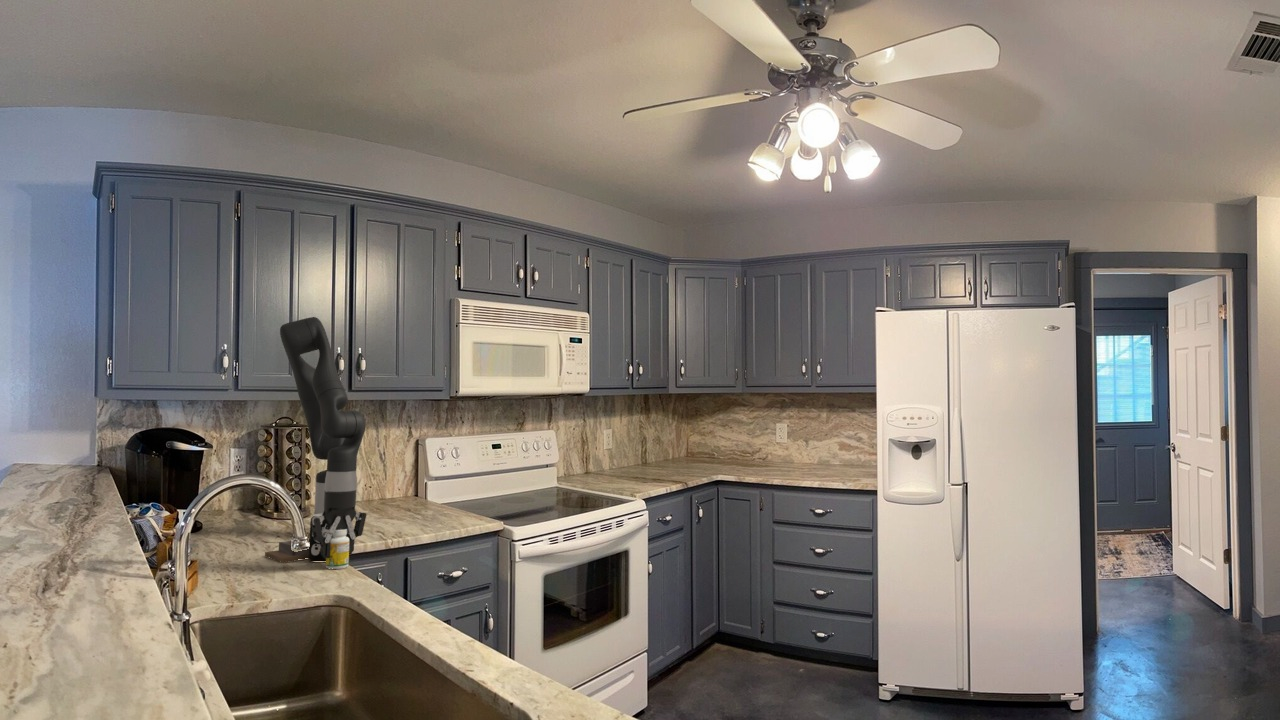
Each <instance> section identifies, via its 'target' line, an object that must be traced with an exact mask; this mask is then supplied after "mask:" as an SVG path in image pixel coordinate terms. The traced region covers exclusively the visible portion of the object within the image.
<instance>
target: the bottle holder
mask: <svg viewBox="0 0 1280 720" xmlns="http://www.w3.org/2000/svg"><path fill="white" fill-rule="evenodd" d="M308 538H309V540H310V537H308ZM265 556H267V557H270V558H272V559H271V560H273V559H275V560H274V561H276V560H278V561H277V562H279V561H281V562H280V563H282V562H286V563H289V562H288V561H293V562H295V561H294V560H298V559H305V558H309V549H307V550H302V551H298V552H294V551H292V550H291V540H286V541H279V542H278V550H272V551H265V552H264V557H265ZM267 557H266V558H267ZM270 558H269V559H270Z"/></svg>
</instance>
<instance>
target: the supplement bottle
mask: <svg viewBox="0 0 1280 720" xmlns="http://www.w3.org/2000/svg"><path fill="white" fill-rule="evenodd" d="M346 535H347V529H342V528H340V529H337V530H335V532H334V534H333V535H332V536H331V539H330V541H329V543H330V556H329V558H326V562H325V568H326V569H327V568H328V569H327V570H333V569H336V570H343V569H346V568H348V567H349V564H350V563H349V562H350V555H349V538H348V537H346ZM329 568H330V569H329ZM332 568H333V569H332Z"/></svg>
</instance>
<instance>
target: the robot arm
mask: <svg viewBox="0 0 1280 720" xmlns="http://www.w3.org/2000/svg"><path fill="white" fill-rule="evenodd" d="M279 334H280V340H281V343H282V345H283V348H284V352H285V354H286V356H287V359H288V362H289V365H290V368H291V370H292V374H293V377H294V382H295V385H296V389H297V394H298V397H299V402H300V404H301V407H302V410H303V413H304V417H305V420H306V424H307V428H308V434H309V440H310V447H311V451H312V454H313V456H314V458H316V459H318V460H325V461H327V462H326V469H325V470H321V471H319V472H317V473H316V475H315V476H316V477H315V490H314V491H315V492H314V494H315V495H314V510H313V511H314V512H313V515H314V514H321V513H323V514H322V516H319V517H313V516H312V517H311V518H310V521H311V526H312V532H313V539H314V540H316V541H320V542H321V555H322V556H323V557H324V558H329V556H330V543H329V541H330V539H331V536H332V535H333V534H334V532H335V530H337V529H340V528H342V529H347V535H346V537H348V538H349V556H350V555H353V553H354V551H355V540H356V538H358V537H362V535H363V531H364V527H365V523H366V520H367V513H366V512H362V511H359V512H357V510H356V506H357V505H356V503H357V487H358V485H357V483H358V482H357V481H358V477H357V465H358V464H357V463H358V462H357V460H358V453H359V450H360V447H361V444H362V441H363V437H364V434H365V431H366V426H367V425H366V424H367V423H366V419H365V416H364V414H363V413H362V412H360V411H356V410H342V409H344V408H345V407H346V406H347V405H348V403H349V398H348V395H347V392H346V390H345V387H344V385H343V383H342V381H341V378H340V376H339V374H338V370H337V367H336V363H335V358H334V355H333V351H332V348H331V345H330V342H329V338H328V335H327V332H326V330H325V327H324V325H323V323H322V321H321V320H320V319H319V318H318V317H315V316H313V317H312V316H311V317H306V318H303V319H302V318H301V319H297V320H293V321H290V322H287V323H286V322H285V323H283V324H282V325H281V326H280V327H279ZM314 351H318V353H319V354H318V355H319V356H318V360H317V364H316V367H314V366H312V365H310V364H309V363H308V362H307V361H305V360H304V358H303V357H302V356H301V355H303V354H307V353H310V352H314ZM354 519H355V524H354V526H353V523H352V521H353V520H354ZM323 520H324V522H325V523H326V525H325V527H324V529H323V534H322V530H321V524H322V521H323Z"/></svg>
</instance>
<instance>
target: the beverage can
mask: <svg viewBox="0 0 1280 720" xmlns="http://www.w3.org/2000/svg"><path fill="white" fill-rule="evenodd" d="M322 514H323V513H321V514H314V513H313V514H312V517H319V516H322ZM309 525H310V526H309V527H310V528H309V538H310V540H309V542H310V547H309V559H308V560H309V561H310V562H311V561H326V558H324V557H323V556H322V555H321V542H320V541H316V540H314V539H313V532H312V526H311V520H310V524H309ZM325 525H326V523H325V522H324V520H323V521H322V524H321V530H322V534H323V529H324V527H325Z"/></svg>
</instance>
